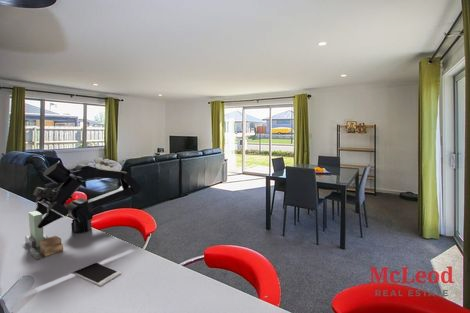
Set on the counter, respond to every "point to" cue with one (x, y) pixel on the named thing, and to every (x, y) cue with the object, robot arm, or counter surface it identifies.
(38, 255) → the rack
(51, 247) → the block
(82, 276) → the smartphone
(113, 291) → the counter surface
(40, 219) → the pale green block
